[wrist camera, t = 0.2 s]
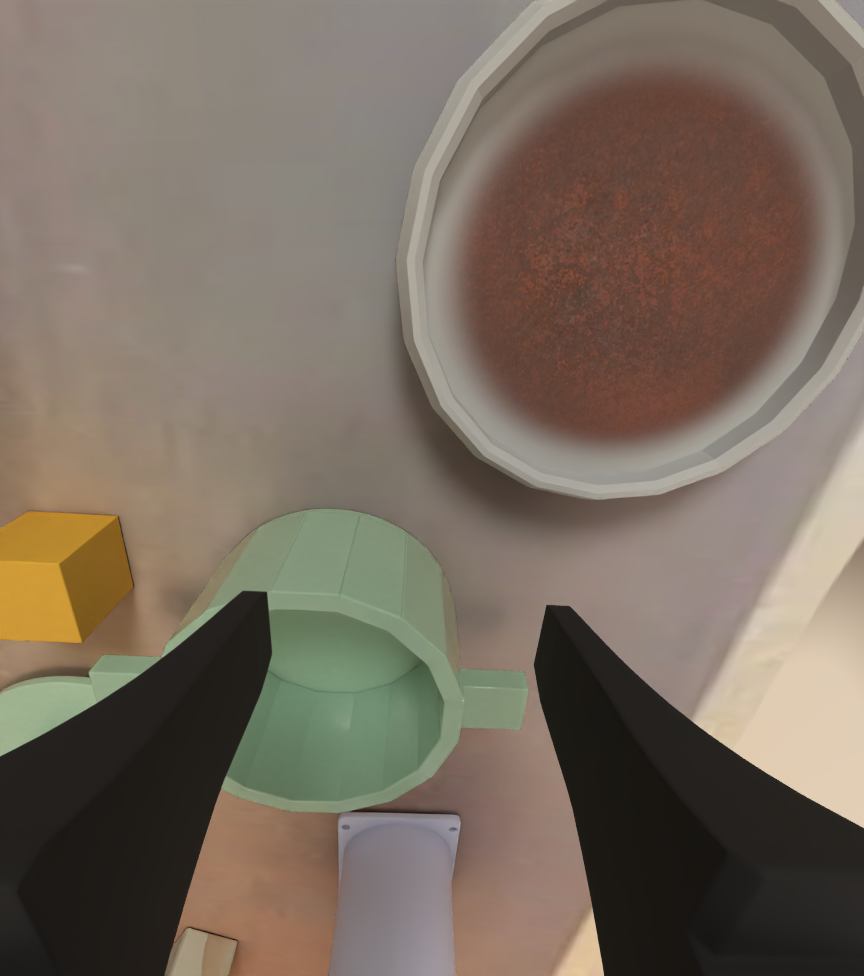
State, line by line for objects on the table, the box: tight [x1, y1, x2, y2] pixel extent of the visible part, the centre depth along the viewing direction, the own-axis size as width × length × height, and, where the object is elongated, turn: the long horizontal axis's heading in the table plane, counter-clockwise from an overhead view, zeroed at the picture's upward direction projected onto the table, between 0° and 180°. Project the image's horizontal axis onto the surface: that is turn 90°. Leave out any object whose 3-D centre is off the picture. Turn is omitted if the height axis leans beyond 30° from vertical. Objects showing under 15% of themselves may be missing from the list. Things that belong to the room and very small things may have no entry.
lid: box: [0, 676, 97, 756], centre depth 27 cm, size 13×13×4 cm
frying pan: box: [396, 0, 864, 500], centre depth 15 cm, size 17×3×28 cm
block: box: [0, 511, 133, 643], centre depth 21 cm, size 4×4×4 cm
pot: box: [88, 509, 529, 813], centre depth 22 cm, size 12×17×6 cm
